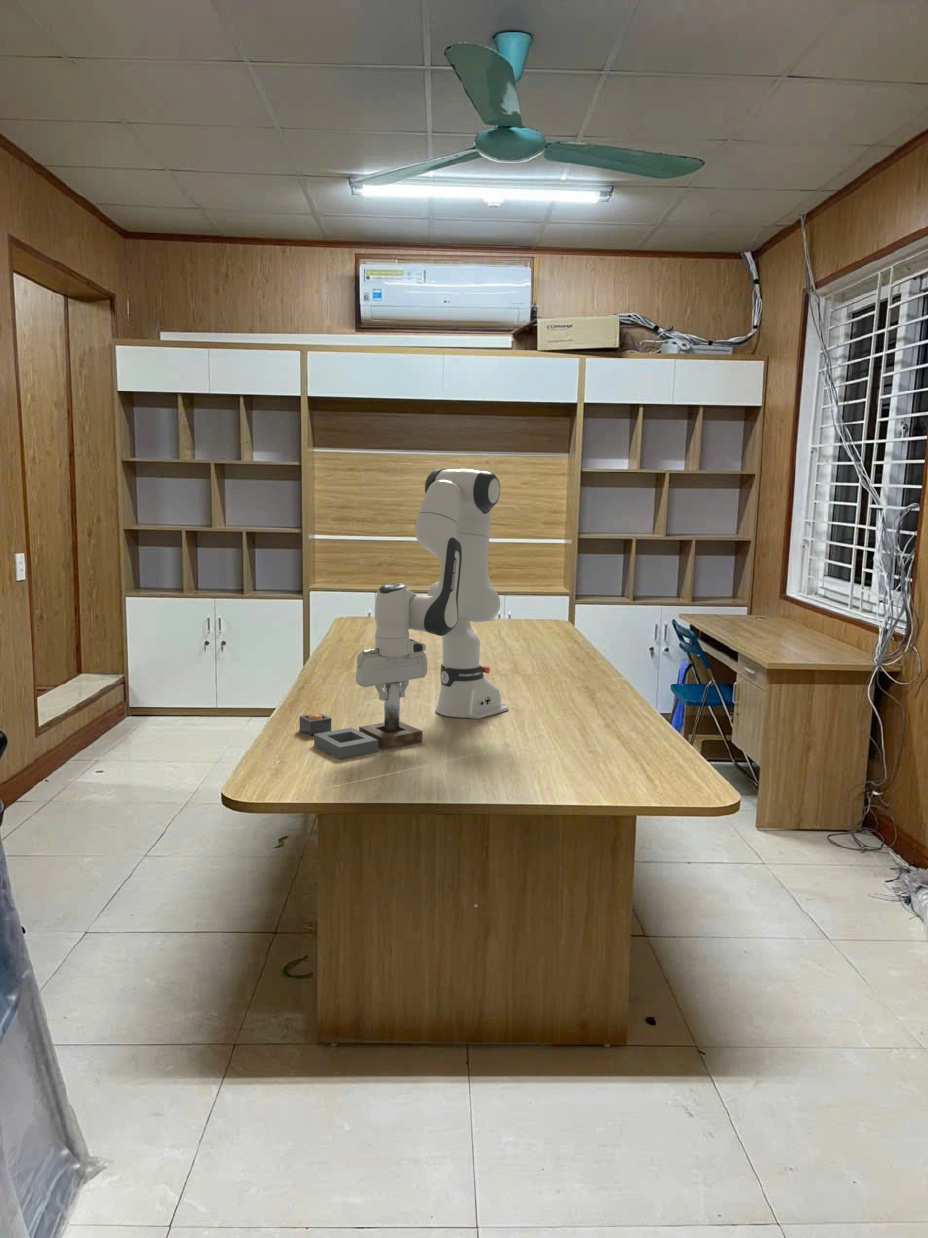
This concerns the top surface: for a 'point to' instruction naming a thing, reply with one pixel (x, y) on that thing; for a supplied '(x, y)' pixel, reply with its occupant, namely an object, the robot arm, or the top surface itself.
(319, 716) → the brown egg
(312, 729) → the dark grey open box
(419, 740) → the socket block
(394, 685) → the grey metal cylinder
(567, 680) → the top surface
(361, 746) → the block
